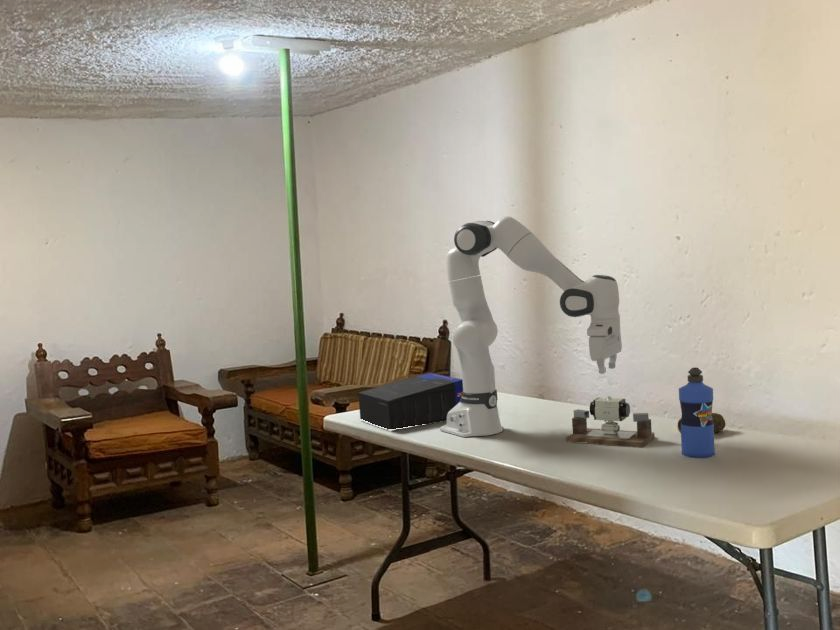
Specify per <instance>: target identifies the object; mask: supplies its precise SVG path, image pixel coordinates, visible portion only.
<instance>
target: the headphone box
mask: <svg viewBox="0 0 840 630" xmlns="http://www.w3.org/2000/svg"><path fill="white" fill-rule="evenodd" d="M461 392H463V380H462V378H457V377H452V376H448V375H447V376H446V375H442V374H436V373H432V372H429V373H425V374H424V373H423V374H421V375H418V376H414V377H410V378H407V379H402V380H400V381H396V382H392V383H388V384H384V385H381V386H377V387H373V388H371V389H366V390H363V391H359V392H358V404H359V405H358V406H359V407H358V408H359V418H360V419H363V420H365V421H368V422H370V423H372V424H375V425H378V426H381V427H384V428H387V429H396V428H403V427H408V426H415V425H422V424H427V425H430V424H429V423H432V424H435V423H434V422H437V423H441V422H440V421H443V422H447V414H448V412H449V411H450V410H451V409H453V408H454V407H455V406H456V405H457V404H458V403H459V402H460V398H461V396H459V397H458V395H460V394H458V393H461ZM360 419H359V420H360ZM422 426H423V425H422Z"/></svg>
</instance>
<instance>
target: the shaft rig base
mask: <svg viewBox="0 0 840 630" xmlns="http://www.w3.org/2000/svg"><path fill="white" fill-rule="evenodd" d="M587 419H588V418H586V419H582V418H576V417H574V416H573V417H572V419H571V423H572V433H571V434H570V435H568V436H567V437H566V441H567V443H576V442H587V443H586V444H589V443H598V444H597V445H603V444H606V445H605V446H616V445H618V447H630V446H632V447H633V448H644V447H645V446H647V444H649V443H650V442H651V441H652V440H653V439H655V437H656V436H655V432H652V430H653V429H652V419H649V421H647V422H636V431H635V430H621V429H620V431H622V432H636V434H635V435H634V436H632V437H631V438H630V439H615V438H601V437H586V436H585V435H586V434H588V433H589V432H591V431H592V430H602V429H601V428H592V427H590V428H588V424H587Z"/></svg>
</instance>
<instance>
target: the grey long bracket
mask: <svg viewBox="0 0 840 630" xmlns="http://www.w3.org/2000/svg"><path fill="white" fill-rule="evenodd" d="M574 417H576V418H582V419H590V410H585V409H579V408H578V409H574V410H573V418H574ZM632 421H633V422H635V423H637V422H647V421H649V412H633V413H632ZM603 432H604V431H602V430H592V431H591V432H589V433H588V434H586V435H585V436H586V437H601V438H615V439H630V438H631V437H632V436H634V435H635V434H636V432H622V431H619V432H617V433H616V434H615V435H609V434H604V433H603Z"/></svg>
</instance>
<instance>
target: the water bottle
mask: <svg viewBox="0 0 840 630" xmlns="http://www.w3.org/2000/svg"><path fill="white" fill-rule="evenodd" d="M687 373H688V375H687V382H688V383H687V384H685V385H683V386H681V387H679V388H678V401H679V405H680V409H681V418H680V419H681V433H680V438H681V439H680V441H681V455H682V456H684V457H686V458H695V459H705V458H711V457H714V456H715V455H716V453H715V451H716V449H715V432H714V424H713V419H712V413H713V401H714V388H713V387H711V386H709V385H707V384H705V383H704V376H703V375H702V373H703V370H701V369H700V368H699V367H691V368H690V369H689V371H687Z"/></svg>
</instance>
